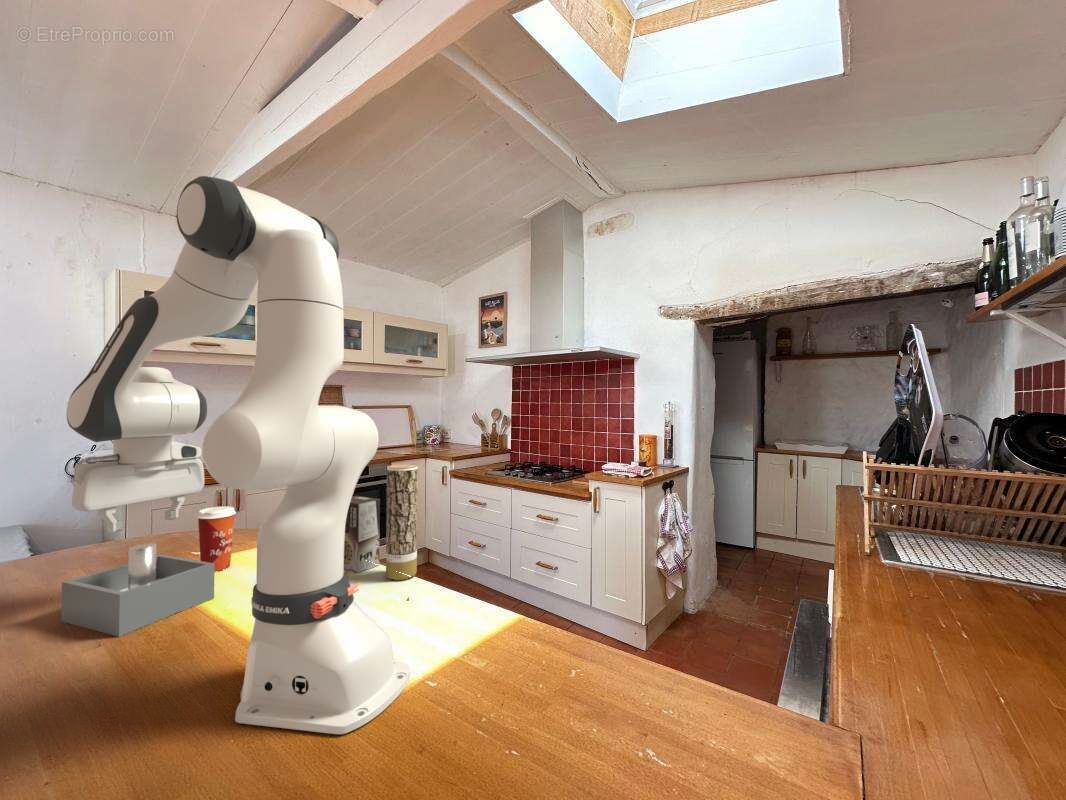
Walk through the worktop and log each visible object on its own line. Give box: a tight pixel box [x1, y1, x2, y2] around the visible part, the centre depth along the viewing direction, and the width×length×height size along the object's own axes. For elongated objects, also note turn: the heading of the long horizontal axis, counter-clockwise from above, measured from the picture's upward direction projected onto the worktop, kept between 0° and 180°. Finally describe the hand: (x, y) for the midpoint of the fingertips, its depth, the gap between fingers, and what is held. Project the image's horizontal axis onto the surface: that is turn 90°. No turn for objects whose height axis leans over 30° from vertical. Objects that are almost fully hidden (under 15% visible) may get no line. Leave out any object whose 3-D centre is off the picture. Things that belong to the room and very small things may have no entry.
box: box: [60, 554, 215, 638], centre depth 86 cm, size 16×16×7 cm
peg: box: [127, 542, 157, 590], centre depth 86 cm, size 4×4×12 cm
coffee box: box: [344, 495, 381, 573], centre depth 110 cm, size 9×6×16 cm
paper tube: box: [385, 463, 419, 581], centre depth 103 cm, size 7×7×25 cm
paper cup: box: [196, 505, 237, 573], centre depth 107 cm, size 8×8×14 cm
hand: (144, 525), depth 86 cm, fingers open, 8 cm apart
